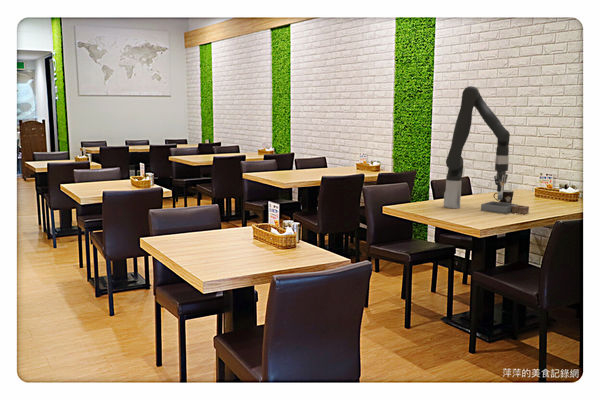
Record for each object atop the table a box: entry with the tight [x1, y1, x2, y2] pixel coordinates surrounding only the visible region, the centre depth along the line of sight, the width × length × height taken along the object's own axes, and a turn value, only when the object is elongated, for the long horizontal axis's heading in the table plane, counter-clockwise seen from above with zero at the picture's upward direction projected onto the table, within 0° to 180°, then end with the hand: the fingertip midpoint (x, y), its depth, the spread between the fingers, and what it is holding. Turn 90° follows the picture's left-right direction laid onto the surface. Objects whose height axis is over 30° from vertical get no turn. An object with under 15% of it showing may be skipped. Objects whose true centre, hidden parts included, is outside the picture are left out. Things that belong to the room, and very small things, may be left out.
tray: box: [480, 200, 518, 215], centre depth 334 cm, size 16×15×4 cm
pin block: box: [511, 204, 530, 216], centre depth 326 cm, size 7×7×4 cm
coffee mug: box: [493, 189, 514, 204], centre depth 349 cm, size 12×9×10 cm
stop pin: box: [496, 183, 503, 201], centre depth 332 cm, size 3×3×10 cm
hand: (500, 191), depth 332 cm, fingers closed on stop pin, 3 cm apart
